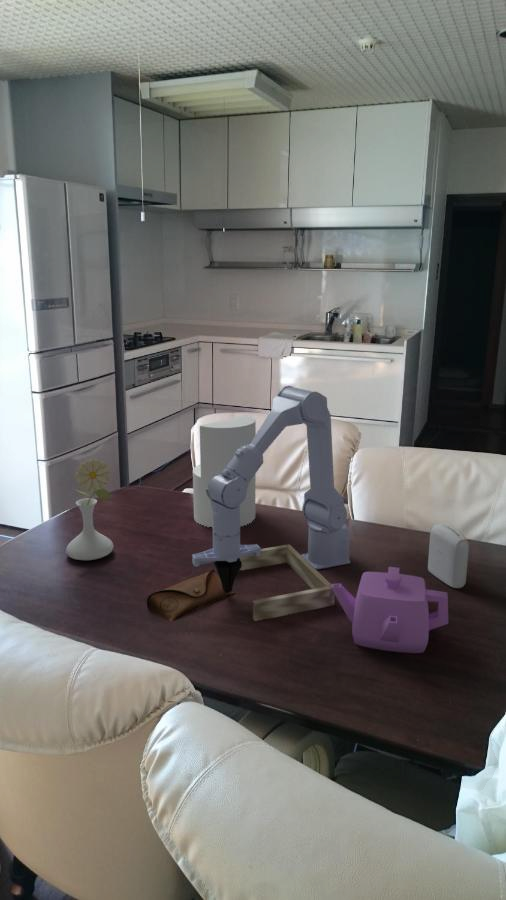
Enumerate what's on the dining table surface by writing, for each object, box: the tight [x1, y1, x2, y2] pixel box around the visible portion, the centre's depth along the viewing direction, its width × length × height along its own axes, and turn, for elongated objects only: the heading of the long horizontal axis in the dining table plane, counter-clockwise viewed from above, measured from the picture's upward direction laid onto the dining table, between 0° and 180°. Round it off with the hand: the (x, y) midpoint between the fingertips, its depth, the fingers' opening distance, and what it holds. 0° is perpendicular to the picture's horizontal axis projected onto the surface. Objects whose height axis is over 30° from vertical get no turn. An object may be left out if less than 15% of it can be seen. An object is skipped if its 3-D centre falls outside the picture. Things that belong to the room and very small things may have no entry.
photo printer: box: [427, 523, 470, 589], centre depth 144 cm, size 10×4×12 cm, turn 20°
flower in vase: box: [65, 458, 115, 561], centre depth 154 cm, size 13×11×25 cm
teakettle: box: [331, 566, 449, 654], centre depth 123 cm, size 17×17×12 cm
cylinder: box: [192, 414, 257, 529], centre depth 177 cm, size 17×17×28 cm
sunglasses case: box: [146, 569, 235, 622], centre depth 137 cm, size 18×7×7 cm, turn 133°
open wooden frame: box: [240, 544, 336, 622], centre depth 141 cm, size 18×23×4 cm
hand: (227, 590), depth 138 cm, fingers closed, pressing on sunglasses case
